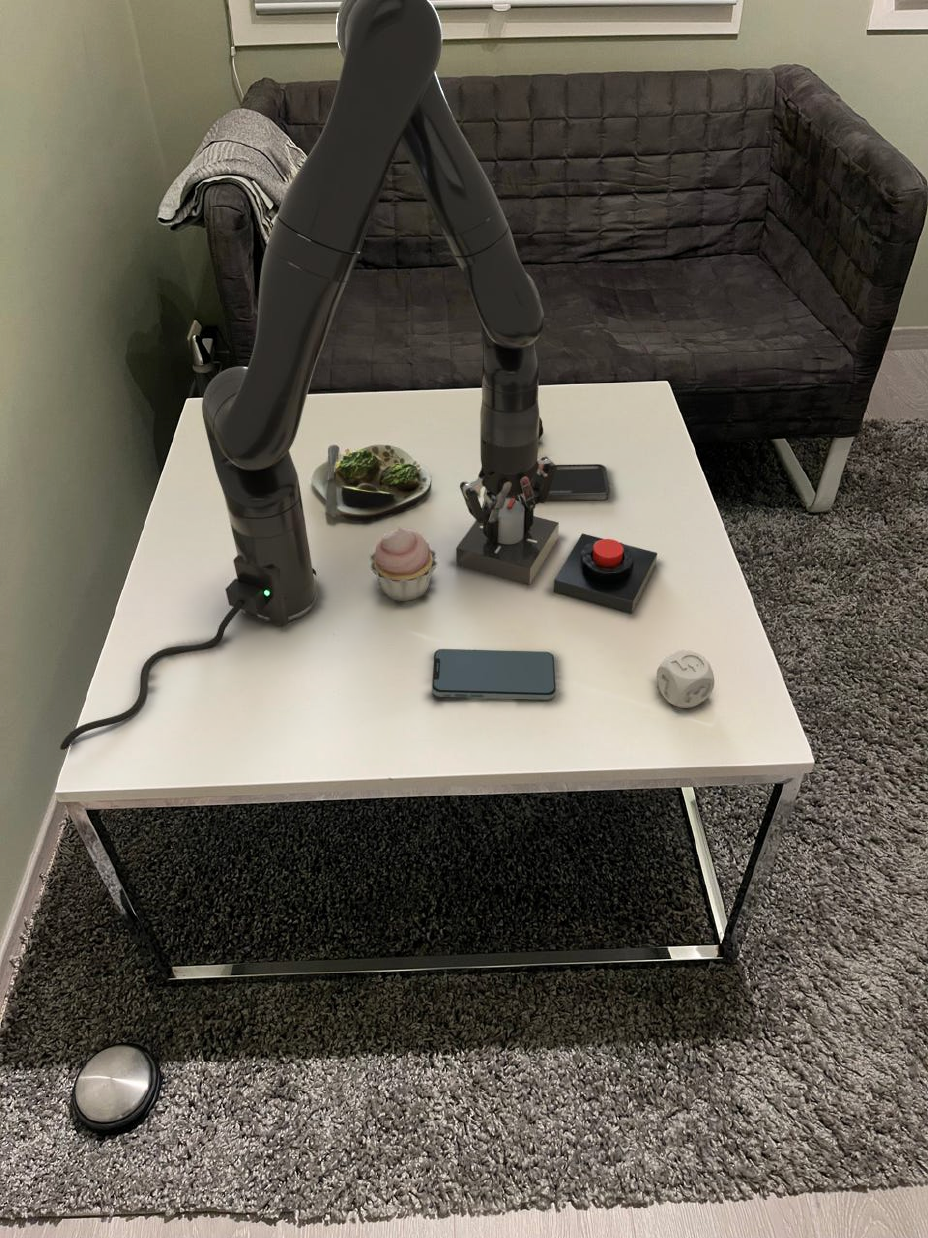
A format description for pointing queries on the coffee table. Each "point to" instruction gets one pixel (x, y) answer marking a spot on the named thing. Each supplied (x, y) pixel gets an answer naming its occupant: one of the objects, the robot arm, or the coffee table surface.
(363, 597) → the coffee table surface
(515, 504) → the hob knob
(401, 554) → the cupcake
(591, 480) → the phone
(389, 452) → the salad plate
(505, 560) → the hob panel
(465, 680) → the smartphone
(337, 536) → the coffee table surface
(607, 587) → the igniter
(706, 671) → the die
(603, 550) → the button
